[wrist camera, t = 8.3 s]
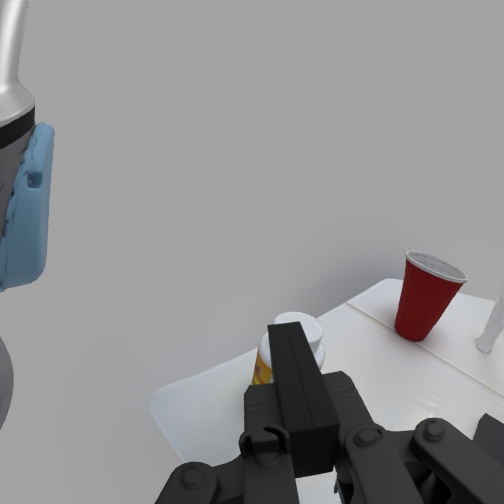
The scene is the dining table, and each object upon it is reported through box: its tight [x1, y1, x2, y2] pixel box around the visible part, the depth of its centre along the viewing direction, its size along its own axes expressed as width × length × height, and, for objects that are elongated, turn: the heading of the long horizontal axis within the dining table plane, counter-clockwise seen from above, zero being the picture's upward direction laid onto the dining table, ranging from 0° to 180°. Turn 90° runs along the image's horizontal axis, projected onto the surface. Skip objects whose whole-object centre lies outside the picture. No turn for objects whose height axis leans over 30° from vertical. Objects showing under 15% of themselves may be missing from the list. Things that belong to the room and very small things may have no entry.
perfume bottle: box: [476, 281, 504, 353], centre depth 31 cm, size 5×4×15 cm
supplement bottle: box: [251, 312, 325, 385], centre depth 23 cm, size 6×6×10 cm
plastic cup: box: [395, 250, 469, 341], centre depth 36 cm, size 11×11×12 cm
